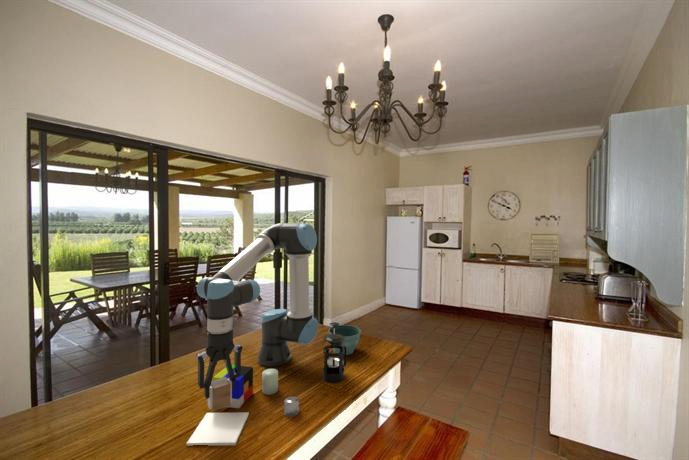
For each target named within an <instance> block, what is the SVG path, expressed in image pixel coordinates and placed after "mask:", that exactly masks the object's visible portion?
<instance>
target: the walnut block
mask: <svg viewBox="0 0 689 460" xmlns="http://www.w3.org/2000/svg"><path fill="white" fill-rule="evenodd" d="M211 386H212V387H213V409H211V410H212V412H216V411H220V410H221V409H225V408H229V407H228V406H230V405H231V383H230V382H229V381H228V379H227V378H226V377H224V378H220V379H217V380H213V379H212V382H211Z"/></svg>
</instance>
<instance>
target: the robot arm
mask: <svg viewBox="0 0 689 460" xmlns="http://www.w3.org/2000/svg"><path fill="white" fill-rule="evenodd" d="M317 242H318V235H317V233H316V230H315V228H314V227H313V226H312V225H311V224H310V223H305V222H304V223H303V222H296V223H295V222H291V223H290V222H280V223H275V224H274V225H271V226H269V227H268V228H265V229H264V230H262V231H261V232H260V233H258V235H257V236H255V239H254V241H253V242H252V243H251V244H249V245H248V246H247V247H246V248H244V249H243V250H242V251H241V252H240V253H239V254H237V255H236V256H235V257H234V258H233V259H232V260H231V261H229V262H228V263H227V264H226V265H225V266H224V267H222V268H221V269H220V270H219V271H218V272H217V273H215V274H214V275H213V276H212V277H211V276H208V277H203V278H201V279H200V280H199V281H198V283H197V285H196V293H197V295H198V296H199V297H200V298H202V299H206V301H207V302H206V304H207V306H206V307H207V308H206V309H207V311H206V313H207V316H206V317H207V322H206V330H207V333H206V334H207V335H206V348H205V350H204V351H203V352H201V353H200V352H199V353H196V355H195V357H196V360H197V386H198V387H199V389H204V393H203V395H204V398H205V399H206V400H207V407H208V409H209V410H212V409H213V387H212V386H211V382H212V381H213V377H214V373H215V370H216V366H217V364H218V362H220V361H224V364H225V367H226V368H227V372H228V375H229V378H228V381H229V382H230V383H231V402H232V390H234V388H235V381H236V378H237V377H240V376H241V366H242V362H241V361H242V358H241V357H242V355H241V354H242V351H243V346H242V345H241V344H240V343H238V344H237V343H236V344H234V329H233V328H234V308H236V307H239V306H241V305H245V304H249V303H251V302H253V301H256V300H257V299H258V298H259V297H260V294H261V287H260V284H259V283H258V282H257V281H256V280H254V279H245V280H241V279H242V278H243V277H244V276H246V274H247V273H248V272H250V271H251V269H252V268H254V267H255V266H256V265H257V264H258V263H259V262H260V261H261V260H262V259H263V258H264V257H265V256H267V255H268V254H271V253H273V252H274V251H275V250H278V249H279V250H280V249H282V250H283V249H284V250H285V255H286V256H287V257H288V264H289V265H288V266H289V270H288V271H289V311H288V309H286V308H277V309H276V308H274V309H271V310H268V311H265V312H264V313H263V314H262V317H261V346H260V349H259V352H258V355H257V363H258V364H259V365H261V366H264V367H271V368H272V367H279V366H283V365H286V364H287V363H289V362H290V361H291V359H292V358H291V357H292V355H291V350H290V347H289V344H288V342H290V343H295V344H299V345H309V344H310V343H312V342H313V340H314V339H315V337H316V335H317V332H318V327H319V323H318V319H317V318H316V317H313V316H314V314H313V311H312V310H311V309H310V277H309V276H310V273H309V272H310V271H309V269H310V268H309V267H310V266H309V265H310V264H309V259H310V256H311V255H312V254H313V251H314V250H315V249H316V246H317V244H318V243H317ZM233 351H234V354H233V356H234V358H233V359H234V365H235V373H234V372H233V368H232V365H233V364H232V361H231V360H232V359H231V357H230V355H231V354H232V352H233ZM207 356H208V358H209V362H208V367H207V371H206V375H205V360H206V357H207Z"/></svg>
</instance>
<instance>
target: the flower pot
mask: <svg viewBox="0 0 689 460" xmlns="http://www.w3.org/2000/svg"><path fill="white" fill-rule="evenodd" d="M328 334H334V328H333V326H331V327H330V328H328ZM335 334H340V335H343V336H344V337H345V339H344V343H343V345H344V346H346V356H348V355H351V354H353V353H354V351H355V349H356V348H357V346H358V345H359V342H360V337H361V329H360V328H359V327H357V326H354V325H348V324H339V325H338V326H335ZM341 346H342V345H341ZM333 349H334V353H335V354H336V353H340V349H339V348H333Z"/></svg>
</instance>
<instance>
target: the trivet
mask: <svg viewBox="0 0 689 460" xmlns="http://www.w3.org/2000/svg"><path fill="white" fill-rule="evenodd" d="M249 416H250V413H249V411H248V412H206V414H205V415H204V416H203V418H202V420H201V421H200V422H199V424H198V426H197V427H196V428H195V430H194V431H193V433H192V434H191V436H190V437H189V439H188V440H187V442H186V446H187V447H189V446H191V447H192V446H193V445H208V446H236V445H237V442H238V441H239V438H240V436H241V433H242V432H243V429H244V427H245V424H246V423H247V420H248V417H249Z"/></svg>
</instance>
